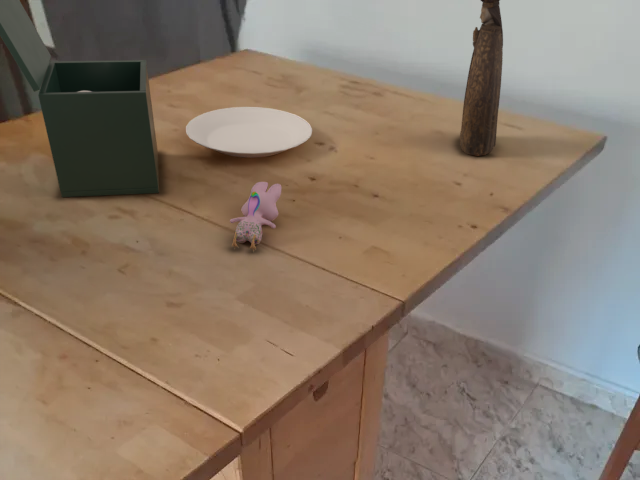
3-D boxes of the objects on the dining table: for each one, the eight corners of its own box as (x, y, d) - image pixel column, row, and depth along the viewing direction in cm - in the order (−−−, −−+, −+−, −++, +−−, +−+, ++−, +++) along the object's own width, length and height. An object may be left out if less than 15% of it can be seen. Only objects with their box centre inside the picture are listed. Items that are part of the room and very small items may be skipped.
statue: (443, 140, 119) (469, -31, 102) (479, 134, 121) (511, -33, 104) (472, 158, 113) (505, -19, 96) (509, 152, 116) (547, -22, 99)
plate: (228, 177, 104) (227, 163, 103) (165, 133, 116) (163, 119, 115) (336, 150, 114) (337, 136, 112) (267, 112, 126) (267, 99, 124)
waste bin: (157, 153, 110) (146, 59, 101) (159, 193, 100) (145, 92, 90) (70, 157, 108) (49, 61, 99) (61, 197, 98) (37, 94, 88)
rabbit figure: (267, 262, 89) (293, 196, 98) (265, 224, 84) (292, 158, 93) (221, 256, 90) (251, 191, 99) (216, 217, 85) (248, 153, 94)
